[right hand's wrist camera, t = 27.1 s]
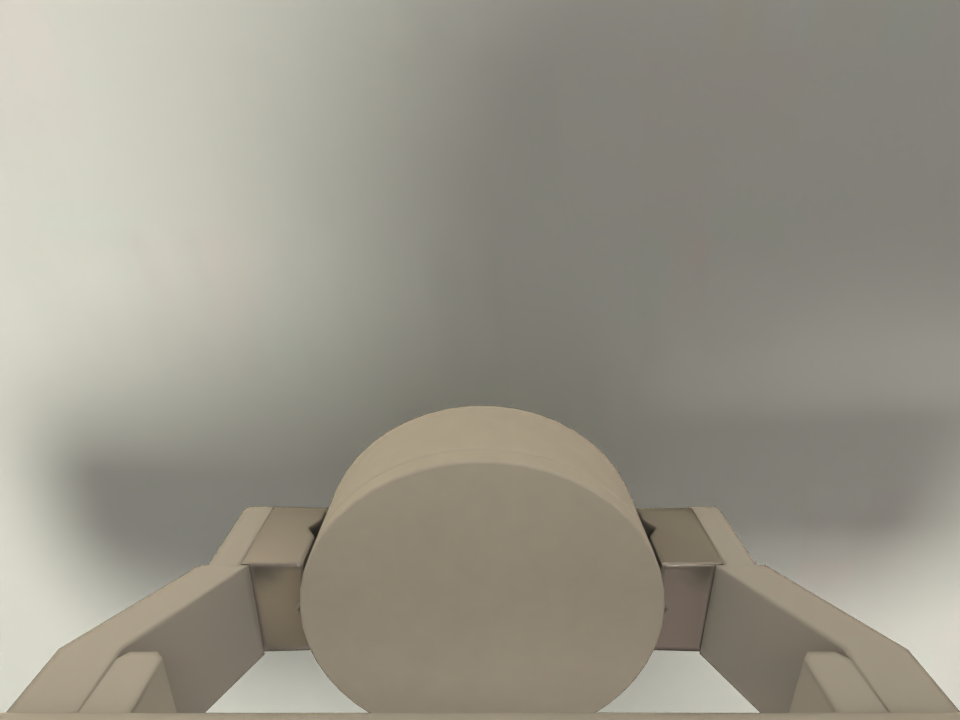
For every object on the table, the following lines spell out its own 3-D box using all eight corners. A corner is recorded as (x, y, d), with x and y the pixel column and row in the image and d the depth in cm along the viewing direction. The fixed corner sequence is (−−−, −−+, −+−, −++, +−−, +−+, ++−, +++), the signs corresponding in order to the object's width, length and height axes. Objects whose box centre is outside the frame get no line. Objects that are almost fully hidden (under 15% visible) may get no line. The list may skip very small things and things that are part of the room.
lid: (373, 674, 12) (355, 763, 10) (286, 435, 10) (247, 497, 8) (649, 634, 11) (678, 719, 10) (619, 377, 9) (648, 428, 8)
